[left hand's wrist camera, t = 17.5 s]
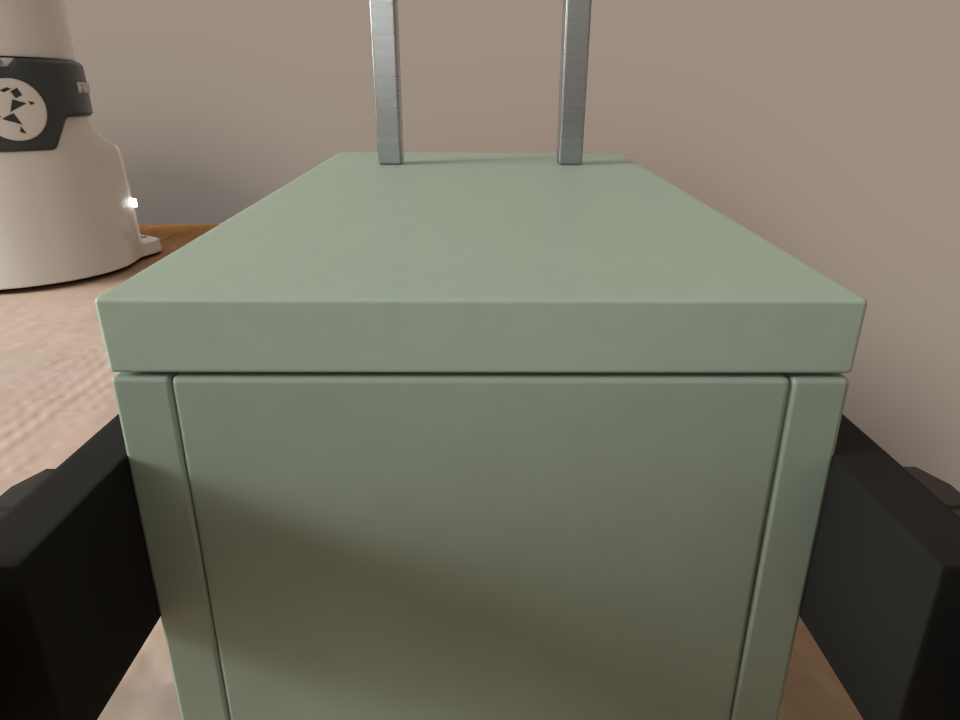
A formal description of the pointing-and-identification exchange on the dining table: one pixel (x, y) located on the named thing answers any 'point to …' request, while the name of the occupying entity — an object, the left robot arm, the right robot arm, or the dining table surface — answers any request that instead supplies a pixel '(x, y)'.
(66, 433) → the dining table surface
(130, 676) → the dining table surface
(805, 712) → the dining table surface
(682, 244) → the lid
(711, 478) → the chest
